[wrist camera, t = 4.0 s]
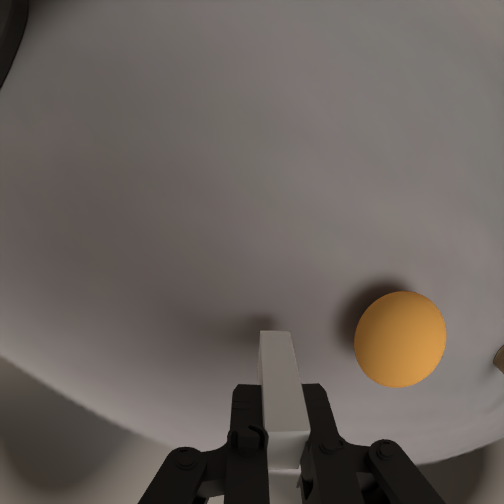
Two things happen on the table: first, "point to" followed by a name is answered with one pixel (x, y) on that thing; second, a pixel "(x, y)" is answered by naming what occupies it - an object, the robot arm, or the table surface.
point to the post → (500, 359)
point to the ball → (400, 339)
